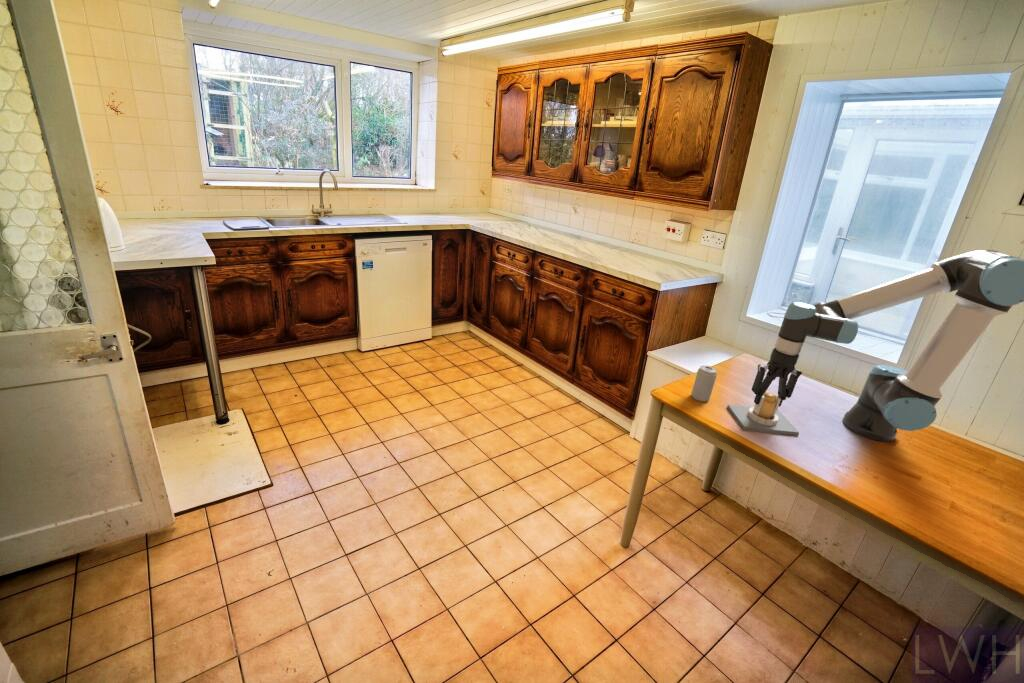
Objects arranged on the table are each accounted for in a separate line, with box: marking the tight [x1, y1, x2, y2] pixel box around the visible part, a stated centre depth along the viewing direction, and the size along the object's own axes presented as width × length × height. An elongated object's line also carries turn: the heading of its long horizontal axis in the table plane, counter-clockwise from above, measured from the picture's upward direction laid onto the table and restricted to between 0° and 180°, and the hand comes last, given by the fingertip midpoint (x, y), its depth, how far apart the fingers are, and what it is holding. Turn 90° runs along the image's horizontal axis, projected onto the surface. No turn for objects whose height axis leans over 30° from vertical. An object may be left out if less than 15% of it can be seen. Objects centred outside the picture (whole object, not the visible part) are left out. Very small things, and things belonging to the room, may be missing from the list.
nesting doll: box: [755, 391, 777, 419], centre depth 159 cm, size 5×5×8 cm
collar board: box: [726, 404, 800, 436], centre depth 161 cm, size 18×14×3 cm
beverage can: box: [691, 365, 718, 403], centre depth 170 cm, size 6×6×12 cm
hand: (763, 412), depth 160 cm, fingers closed on nesting doll, 5 cm apart
